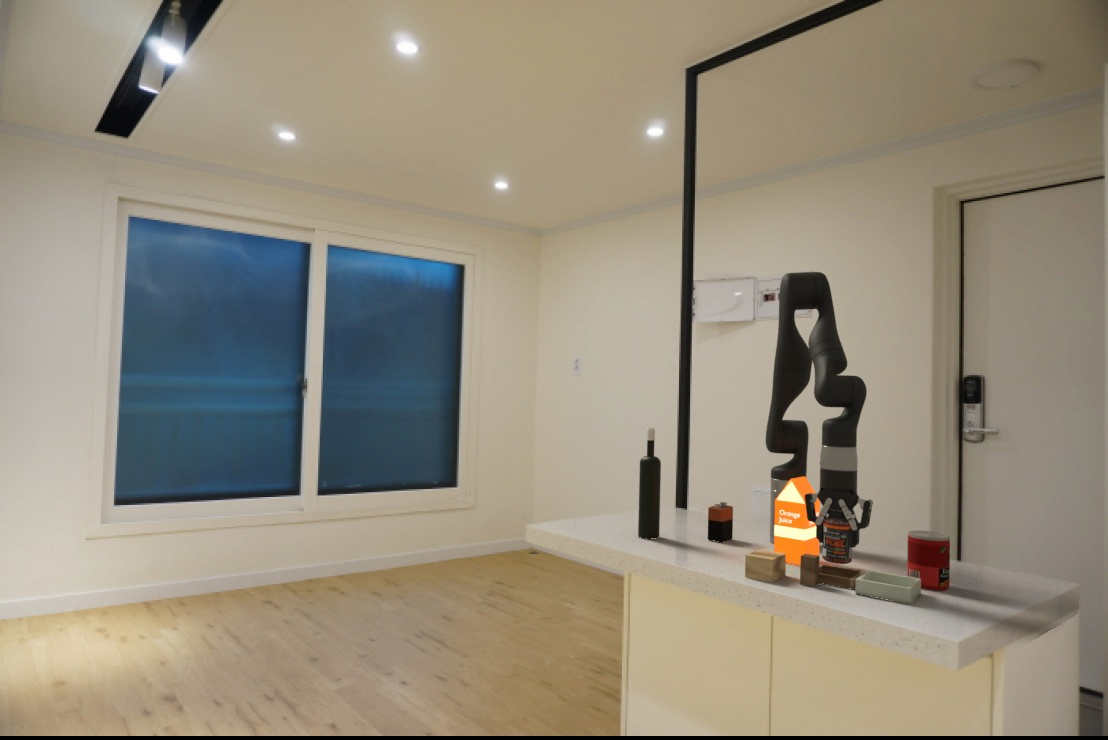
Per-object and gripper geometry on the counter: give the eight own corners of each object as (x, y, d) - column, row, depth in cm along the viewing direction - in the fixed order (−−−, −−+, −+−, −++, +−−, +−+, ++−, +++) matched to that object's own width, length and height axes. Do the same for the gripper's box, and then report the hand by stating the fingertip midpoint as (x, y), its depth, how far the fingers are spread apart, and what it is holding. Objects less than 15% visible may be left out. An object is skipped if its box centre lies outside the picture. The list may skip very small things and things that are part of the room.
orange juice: (773, 560, 169) (774, 477, 170) (789, 554, 175) (790, 474, 176) (804, 566, 164) (806, 480, 164) (820, 560, 170) (821, 478, 171)
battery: (733, 539, 193) (733, 503, 193) (721, 543, 187) (722, 505, 188) (718, 537, 195) (719, 501, 196) (706, 540, 190) (707, 503, 191)
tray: (868, 584, 149) (868, 570, 149) (920, 593, 143) (921, 578, 143) (855, 594, 141) (855, 579, 141) (910, 604, 135) (910, 588, 135)
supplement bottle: (822, 562, 150) (823, 509, 150) (822, 556, 156) (823, 505, 156) (852, 566, 148) (853, 512, 148) (851, 559, 154) (852, 507, 154)
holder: (821, 572, 158) (821, 564, 158) (865, 580, 152) (865, 571, 152) (807, 581, 151) (807, 571, 151) (853, 589, 145) (853, 579, 145)
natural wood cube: (759, 571, 159) (759, 549, 159) (785, 576, 155) (785, 553, 155) (745, 578, 152) (745, 555, 153) (772, 583, 149) (772, 559, 149)
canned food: (948, 593, 144) (949, 539, 144) (905, 586, 148) (905, 534, 149) (950, 585, 151) (950, 533, 151) (909, 579, 155) (909, 529, 155)
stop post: (804, 581, 150) (805, 553, 150) (819, 584, 148) (819, 555, 148) (800, 584, 148) (800, 555, 148) (814, 587, 146) (814, 558, 146)
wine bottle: (644, 534, 197) (646, 427, 198) (662, 537, 193) (665, 428, 194) (634, 537, 192) (636, 427, 193) (653, 540, 189) (655, 428, 190)
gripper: (878, 468, 151) (876, 547, 151) (810, 462, 160) (809, 536, 159) (869, 471, 145) (868, 553, 145) (799, 465, 154) (798, 542, 153)
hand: (837, 544), depth 152 cm, fingers closed on supplement bottle, 6 cm apart
